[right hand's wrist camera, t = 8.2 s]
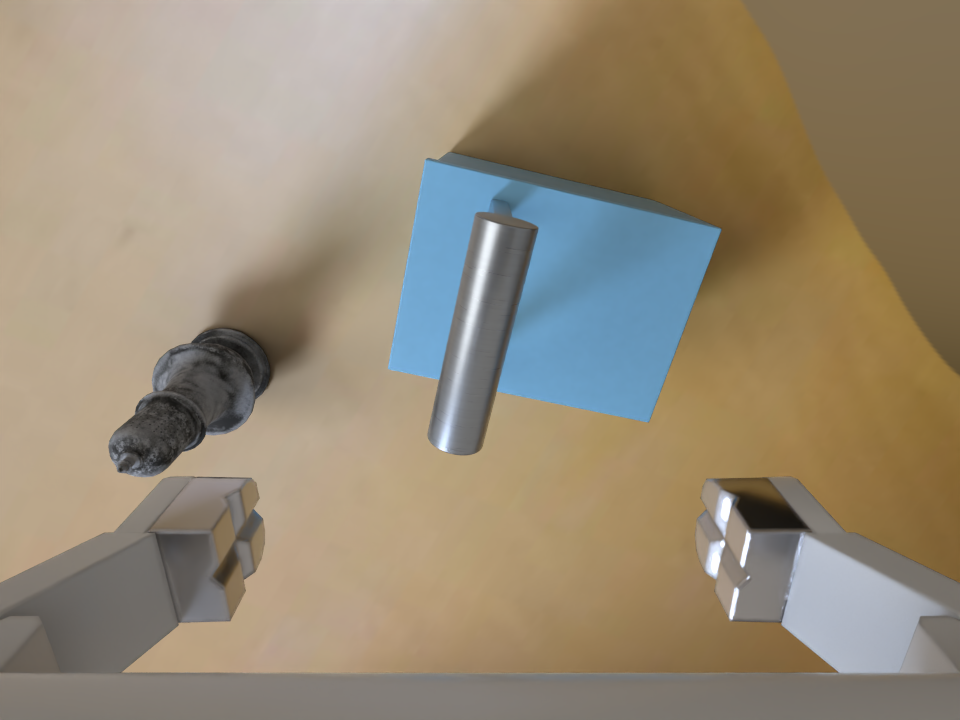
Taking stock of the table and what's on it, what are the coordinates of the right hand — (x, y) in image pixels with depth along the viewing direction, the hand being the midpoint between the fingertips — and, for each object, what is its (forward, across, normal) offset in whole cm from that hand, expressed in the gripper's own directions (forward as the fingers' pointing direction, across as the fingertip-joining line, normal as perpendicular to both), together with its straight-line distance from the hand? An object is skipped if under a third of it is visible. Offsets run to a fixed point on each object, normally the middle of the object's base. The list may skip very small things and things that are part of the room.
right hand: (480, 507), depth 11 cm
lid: (+16, -3, +1) cm, 17 cm away
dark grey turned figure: (+25, +16, +8) cm, 31 cm away
